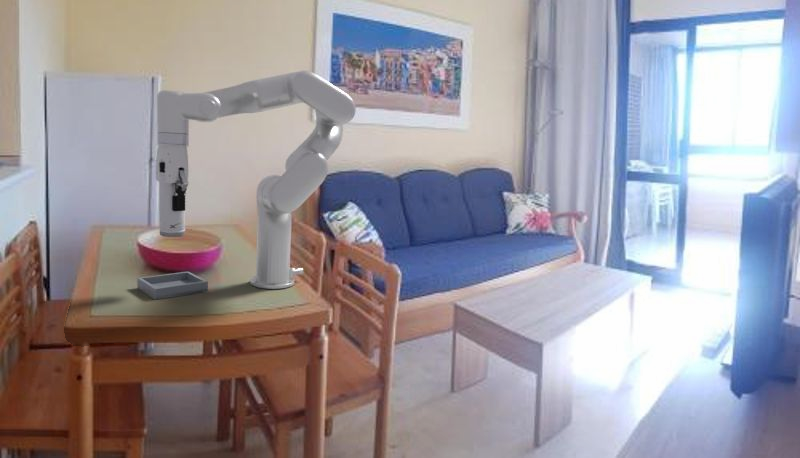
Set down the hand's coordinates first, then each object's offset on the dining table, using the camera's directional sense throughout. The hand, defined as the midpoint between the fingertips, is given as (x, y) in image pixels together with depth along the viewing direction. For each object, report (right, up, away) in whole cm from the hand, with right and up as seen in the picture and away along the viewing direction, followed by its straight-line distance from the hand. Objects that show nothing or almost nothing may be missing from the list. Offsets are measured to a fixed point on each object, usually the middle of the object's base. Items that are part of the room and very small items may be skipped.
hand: (173, 208), depth 148 cm
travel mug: (0, -7, +1) cm, 7 cm away
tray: (-2, -22, +4) cm, 22 cm away
